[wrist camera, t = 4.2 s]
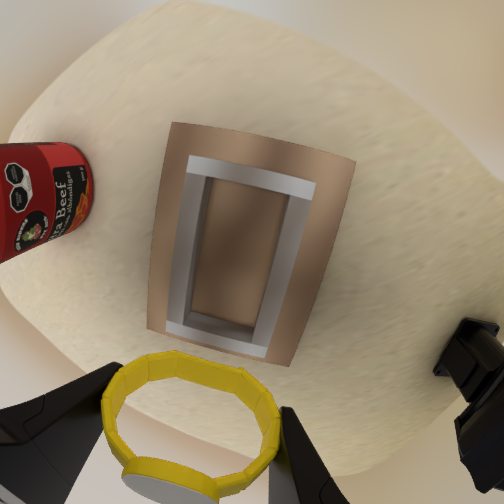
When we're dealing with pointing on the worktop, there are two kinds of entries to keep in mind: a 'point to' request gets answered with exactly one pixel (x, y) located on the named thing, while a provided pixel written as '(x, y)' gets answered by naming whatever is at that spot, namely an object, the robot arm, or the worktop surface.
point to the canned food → (40, 194)
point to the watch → (172, 474)
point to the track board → (242, 239)
